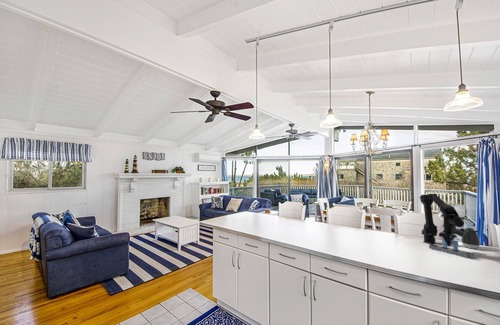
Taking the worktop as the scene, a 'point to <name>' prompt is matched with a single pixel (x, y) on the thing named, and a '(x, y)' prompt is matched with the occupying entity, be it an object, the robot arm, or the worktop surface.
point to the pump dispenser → (471, 239)
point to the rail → (452, 251)
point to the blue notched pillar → (453, 242)
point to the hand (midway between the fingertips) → (449, 245)
